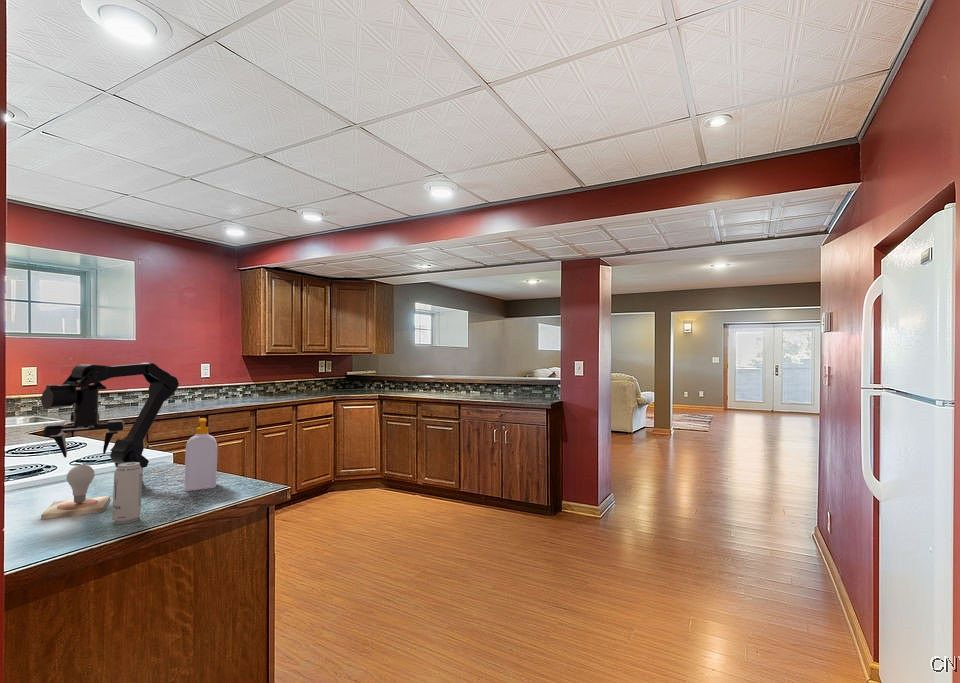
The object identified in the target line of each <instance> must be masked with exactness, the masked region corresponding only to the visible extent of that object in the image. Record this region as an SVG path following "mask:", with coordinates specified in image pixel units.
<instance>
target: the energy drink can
mask: <svg viewBox="0 0 960 683" xmlns="http://www.w3.org/2000/svg"><path fill="white" fill-rule="evenodd" d="M117 466H118V467H116V469H115V470H114V472H113V492H112V495H113V496H112V497H113V498H112V516H111V520H112V521H114V524H116V525H124V524H130V523H133V522H136V521H138V519H139V517H140V516H141V514H142V513H141V511H142V510H141V508H142V490H143V489H142V488H143V484H142V468H141V466H140V463H139V462H127V463H121V464H118V465H117Z"/></svg>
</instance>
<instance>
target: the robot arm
mask: <svg viewBox="0 0 960 683" xmlns="http://www.w3.org/2000/svg"><path fill="white" fill-rule="evenodd" d="M140 375H142V376H143V378H144V380H145V381H146V382H147V383H148V384H149V386H148V398H147V399H146V402H144V405H143V407H142V408H141V410H140V412H139V414H138V416H137V417H136V419H135V421H134V422H133V425H132V427H131V428H130V430H129V432H128V434H127V435H126V436H124V438H123V439H122V438H117V439H116V440H115V442H114V445H113V447H112V448H111V449H110V450H109V451H110V455H109V457H110V459H111V461H112V462H113V463H114V466H115V468H117V467H118V466H117V465H118V464H121V463H127V462H139V463H140V466H141V468H142V485H143V484H144V480H143V479H144V469H145V468H147V467H148V465H149V460H148V459H147V458H146V457H145V456H144V455H142V454H143V452H144V448H145V446H144V440H145V438H146V436H147V434H148V432H149V430H150V428H151V427H152V425H153V423H154V421H155V420H156V417H157V415H158V414H159V412H160V410H161V408H162V406H163V404H164V402H166V401H167V400H168V399H169V398H171V396H173V395H174V394H175V392H176V391H177V390H178V388H179V386H180V383H179V380H178V379H177V377H176V376H173V375H172V374H170V373H168V372H167V371H166V370H164V369H162V368H161V367H159V366H158V365H157V364H155V363H154V362H142V363H132V364H120V365H119V364H117V365H100V364H77V365H75V366H74V367H73V368H72V370H71V374H69V376H68V377H67V378H66V379H65V380H64V382H63V383H62V384H58V385H57V384H47V385H46V386H45V389H44V391H43V392H42V394H41V396H40V403H41V405H42V407H43V409H47V410H48V409H58V408H70V407H71V406H73V405H74V406H73V407H74V408H73V411H70V423H72V425H65V423H63V422H62V423H51V424H47V425H46V426H45V427H43V437H49V439H53V440H54V442H55V443H56V444H57V445H58V448H59V449H60V451H61V453H62V455H63V458H67V455H68V449H67V442H66V440H67V439H66V432H67V433H69V432H82V431H83V432H84V431H85V432H87V431H98V430H107V431H106V432H105V436H104V442H103V448H102V454H103V455H105V454H106V452H107V449H108V448H109V444H110V442H111V440H112V438H113V436H114V435H117V434H119V432H121V431H123V430H125V421H124V420H123V419H114V420H112V419H111V420H108V421H107V422H106V423H100V414H99V392H100V390H103V391H104V390H107V386H105V385H104V384H102V383H101V382H105V381H107V380H109V379H113V378H119V377H121V378H122V377H130V376H140Z"/></svg>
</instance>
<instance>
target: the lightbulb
mask: <svg viewBox="0 0 960 683" xmlns="http://www.w3.org/2000/svg"><path fill="white" fill-rule="evenodd" d="M94 477H95V470H94V469H93V468H92V466H90V465H87V464H79V465H76V466H74V467H72V468H71V469H70V470H68V472H67V474H66V481H67V483H68V485H69V486H70V489H71V491H72V496H73V500H74V503H77V504H81V503H82V502H84V501H85V499H86V498H87V497H86V496H87V494H88V490H89V486H90V485H91V483H92V481H93V480H94V479H95V478H94Z"/></svg>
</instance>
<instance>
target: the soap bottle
mask: <svg viewBox="0 0 960 683" xmlns="http://www.w3.org/2000/svg"><path fill="white" fill-rule="evenodd" d="M207 421H208V420H207V418H205V417H202V418H201V417H200V418H199V420H198V422H199V424H200V425H199V426H198V427H196V429H195V435H192V436H191V437H190V438H189V439H188V440H187V441H186V444H185V459H184V461H185V462H184V480H183V481H184V482H183V484H184V485H183V488H184V491H185V492H190V491H191V492H192V490H193V491H198V490H200V491H201V490H208V489H209V488H210V489H214V488H217V471H218V468H217V467H218V447H219V446H218V442H217V440H216V438H215V437H214V436H213V435H212V434H211V435H210V433H209V426H205V425H206V422H207Z"/></svg>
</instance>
